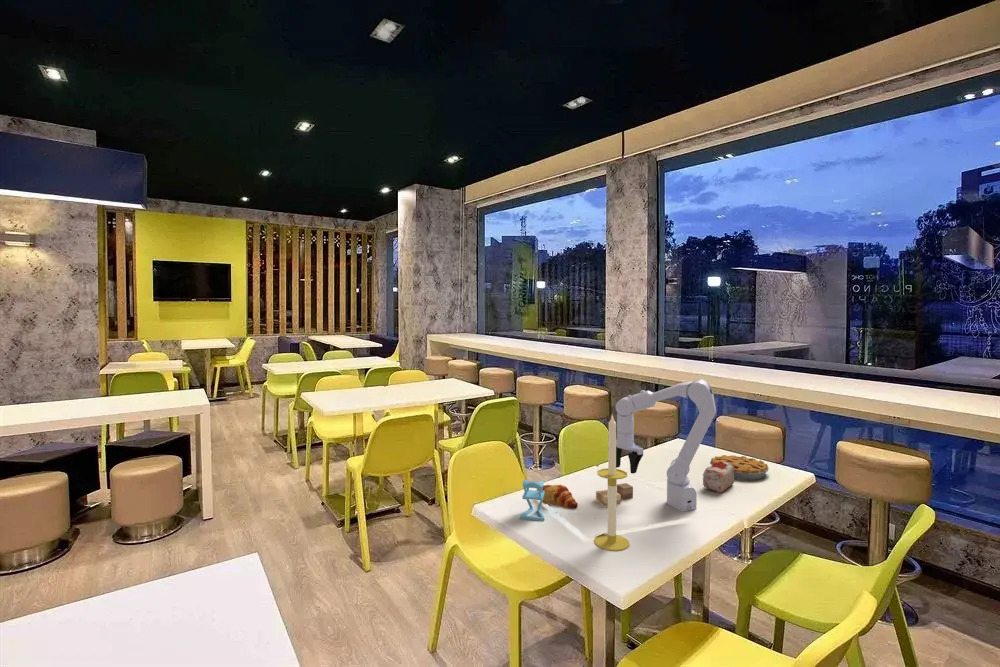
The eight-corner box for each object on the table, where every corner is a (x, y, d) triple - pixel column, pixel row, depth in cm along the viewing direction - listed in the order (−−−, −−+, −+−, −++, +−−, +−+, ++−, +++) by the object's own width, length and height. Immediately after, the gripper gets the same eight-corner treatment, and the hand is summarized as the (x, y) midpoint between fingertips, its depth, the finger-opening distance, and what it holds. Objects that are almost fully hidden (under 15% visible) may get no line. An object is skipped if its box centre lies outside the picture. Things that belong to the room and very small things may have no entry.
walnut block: (632, 498, 175) (632, 486, 175) (623, 499, 173) (623, 488, 173) (626, 494, 179) (626, 483, 178) (616, 495, 177) (616, 484, 177)
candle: (624, 534, 149) (624, 410, 148) (634, 550, 139) (635, 417, 138) (590, 535, 149) (591, 410, 147) (598, 551, 139) (598, 417, 137)
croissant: (531, 504, 182) (523, 487, 180) (550, 486, 187) (542, 469, 184) (571, 523, 164) (562, 505, 162) (590, 503, 169) (582, 485, 167)
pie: (774, 471, 206) (775, 459, 206) (760, 485, 190) (760, 472, 190) (719, 461, 221) (719, 450, 221) (701, 473, 205) (702, 461, 204)
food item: (723, 495, 180) (723, 468, 180) (701, 490, 186) (701, 463, 185) (735, 485, 190) (736, 459, 190) (714, 480, 196) (714, 455, 195)
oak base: (620, 503, 170) (620, 494, 169) (605, 506, 168) (605, 497, 167) (610, 497, 175) (610, 489, 175) (595, 499, 173) (596, 491, 173)
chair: (546, 511, 167) (546, 475, 167) (544, 521, 159) (543, 483, 159) (524, 509, 169) (524, 474, 168) (520, 519, 161) (519, 482, 160)
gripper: (649, 434, 172) (649, 473, 173) (618, 426, 184) (618, 462, 185) (635, 437, 168) (635, 477, 169) (604, 429, 181) (604, 466, 181)
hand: (625, 469), depth 177 cm, fingers open, 7 cm apart
